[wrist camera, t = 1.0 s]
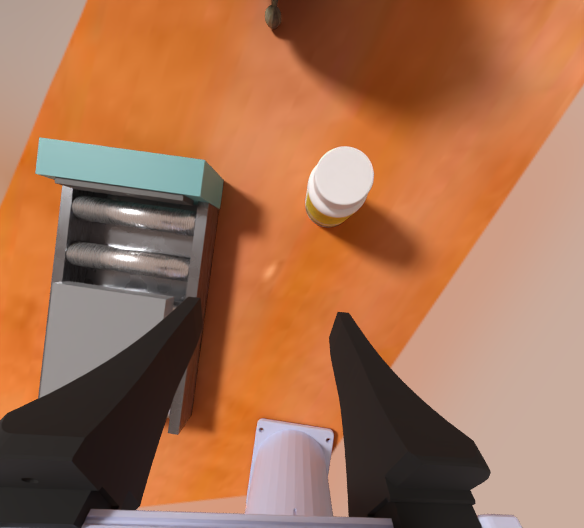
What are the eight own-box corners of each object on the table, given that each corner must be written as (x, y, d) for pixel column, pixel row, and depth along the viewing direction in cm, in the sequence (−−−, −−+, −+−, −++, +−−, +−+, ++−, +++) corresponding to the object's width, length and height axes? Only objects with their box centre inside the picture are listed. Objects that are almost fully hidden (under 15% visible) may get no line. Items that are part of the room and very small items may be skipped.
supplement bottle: (349, 228, 24) (377, 213, 16) (303, 226, 24) (307, 210, 16) (352, 182, 24) (382, 141, 16) (306, 180, 24) (310, 138, 16)
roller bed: (191, 414, 25) (178, 434, 22) (65, 395, 25) (36, 412, 22) (219, 208, 24) (208, 202, 22) (89, 190, 25) (62, 182, 22)
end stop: (219, 213, 24) (199, 202, 19) (88, 195, 25) (34, 179, 20) (223, 180, 24) (204, 160, 19) (91, 161, 25) (39, 137, 20)
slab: (157, 423, 22) (148, 434, 21) (53, 407, 22) (37, 417, 21) (174, 296, 22) (165, 299, 20) (68, 281, 22) (52, 282, 20)
